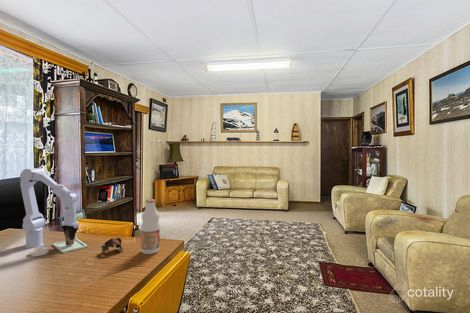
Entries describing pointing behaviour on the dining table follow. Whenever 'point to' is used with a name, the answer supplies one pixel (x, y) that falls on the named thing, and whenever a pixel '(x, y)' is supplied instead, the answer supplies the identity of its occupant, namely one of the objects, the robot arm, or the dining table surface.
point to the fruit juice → (150, 229)
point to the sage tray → (69, 246)
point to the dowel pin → (68, 241)
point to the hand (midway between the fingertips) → (70, 238)
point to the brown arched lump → (112, 244)
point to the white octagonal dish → (39, 251)
